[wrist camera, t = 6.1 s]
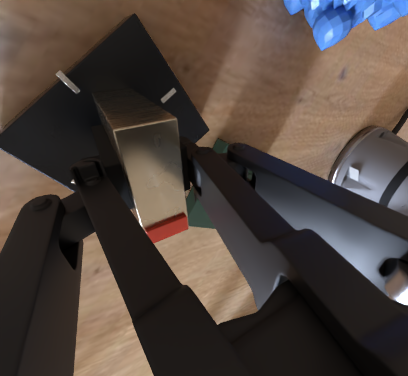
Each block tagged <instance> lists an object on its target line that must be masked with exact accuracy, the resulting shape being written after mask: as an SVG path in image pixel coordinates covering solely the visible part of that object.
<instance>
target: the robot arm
mask: <svg viewBox="0 0 408 376" xmlns="http://www.w3.org/2000/svg"><path fill="white" fill-rule="evenodd" d="M407 118H408V109H407V110H406V111H405V113H404V114H403V116H402V117H401V119H400V121H399V122H398V123H397V125H396V126H395V128H394V129H393V130H392V132H391V131H389V130H387V129H385V128H382V127H378V126H370V127H367V128H365V129H364V130H362V131H361V132H359V133H358V134H357V135H356V136H355V137H354V138H353V139H352V140H351V141H350V142H349V143H348V144H347V145H346V147H345V148H344V149H343V151H342V152H341V154H340V155H339V157H338V158H337V160H336V162H335V164H334V166H333V168H332V170H331V173H330V176H329V180H328V181H327V180H325V179H323V178H321V177H318V176H316V175H314V174H312V173H309V172H307V171H305V170H303V169H300V168H298V167H296V166H294V165H291V164H289V163H287V162H285V161H282V160H280V159H278V158H276V157H273V156H271V155H269V154H267V153H264V152H262V151H260V150H258V149H255V148H253V147H251V146H249V145H246V144H242V143H234V144H230V145H229V146H228V147H227V153H216V152H215V151H214V150H213V149H212V148H210V147H198V146H197V145H196V144H195V143H193V142H192V141H190V140H189V139H188V138H186V137H183V136H179V141H180V150H181V160H182V169H183V178H184V187H185V191H186V190H189V189H190V182H191V183H192V184H193V189H194V201H195V202H197V200H196V199H197V198H198V200H199V201H200V203H201V205H202V206H203V208H204V210H205V211H206V213H207V215H208V217H209V218H210V220H211V222H212V223H213V225H214V227H215V228H216V230H217V232H218V233H219V235H220V237H221V238H222V240H223V242H224V243H225V245H226V247H227V249H228V250H229V252H230V254H231V255H232V257H233V259H234V260H235V262H236V264H237V265H238V267H239V269H240V270H241V272H242V274H243V275H244V277H245V279H246V280H247V282H248V284H249V286H250V287H251V289H252V292H253V295H254V300H255V303H256V306H257V309H258V311H257V312H256V313H253V314H250V315H247V316H243V317H240V318H236V319H233V320H229V321H226V322H223V323H220V324H218V325H217V324H216V323H215V321H214V320H213V318H212V317H211V316H210V314H209V313H208V311H207V310H206V309H205V307H204V306H203V304H202V303H201V302H200V300H199V299H198V297H197V296H196V295H195V293H194V292H193V291H192V290H191V288H190V287H188V286H187V285H182V284H181V283H180V281H179V280H178V279H177V277H176V276H175V274H174V273H173V271H172V270H171V269H170V267H169V266H168V264H167V263H166V261H165V260H164V258H163V257H162V255H161V254H160V253H159V251H158V250H157V248H156V247H155V245H154V244H153V242H152V241H151V239H150V238H149V236H148V235H147V234H146V232H145V231H144V229H143V228H142V226H141V225H140V223H139V222H138V220H137V219H136V218H135V216H134V215H133V213H132V212H131V210H130V209H133V208H134V206H133V203H132V200H131V196H130V193H129V190H128V187H127V183H126V180H125V177H124V173H123V170H122V167H121V163H120V161H119V159H118V157H117V155H116V153H115V150H114V148H113V146H112V144H111V142H110V140H109V138H108V135H107V133H106V131H105V129H104V127H103V125H98V126H92V127H91V129H92V133H93V136H94V139H95V142H96V145H97V149H98V152H99V155H97V156H92V157H88V158H84V159H81V160H80V161H79V162H76V163H75V164H73V165H72V166H71V167H70V168H69V171H70V173H71V175H72V177H73V180H74V182H75V184H76V186H77V188H78V190H77V191H76V192H74V193H73V194H72V195H70V196H68V197H66V198H63V199H60V198H59V197H58V196H57V195H51V194H50V195H44V196H40V197H36V198H35V199H32V200H30V201H29V202H28V203H26V204H25V205H24V206H23V207H22V209H21V211H20V213H19V215H18V217H17V219H16V221H15V223H14V225H13V228H12V230H11V232H10V234H9V236H8V238H7V240H6V242H5V244H4V247H3V249H2V251H1V253H0V376H73V373H74V360H75V347H76V334H77V321H78V307H79V294H80V281H81V268H82V255H83V240H82V239H84V238H85V237H87V236H89V235H90V234H92V233H94V232H96V234H97V236H98V239H99V241H100V244H101V246H102V248H103V251H104V253H105V256H106V258H107V260H108V263H109V265H110V268H111V270H112V272H113V275H114V277H115V280H116V282H117V284H118V287H119V289H120V292H121V294H122V297H123V299H124V301H125V304H126V306H127V309H128V311H129V313H130V316H131V318H132V323H133V325H134V328H135V331H136V333H137V336H138V338H139V340H140V343H141V345H142V348H143V350H144V353H145V355H146V358H147V360H148V362H149V365H150V367H151V370H152V372H153V375H154V376H408V142H406V141H405V140H403V139H402V138H400V137H398V136H397V135H396V134H397V133H398V131H399V130H400V129H401V127H402V126H403V124H404V123H405V121H406V120H407ZM248 169H249V170H250V171H252V179H249V178H248Z"/></svg>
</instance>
